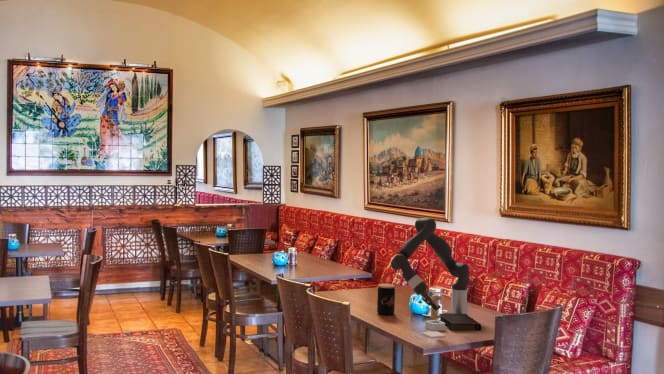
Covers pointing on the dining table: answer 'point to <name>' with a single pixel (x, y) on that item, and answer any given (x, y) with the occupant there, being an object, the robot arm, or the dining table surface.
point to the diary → (459, 322)
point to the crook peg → (435, 299)
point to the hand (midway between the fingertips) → (438, 309)
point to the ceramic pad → (433, 334)
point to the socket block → (435, 325)
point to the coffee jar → (386, 299)
